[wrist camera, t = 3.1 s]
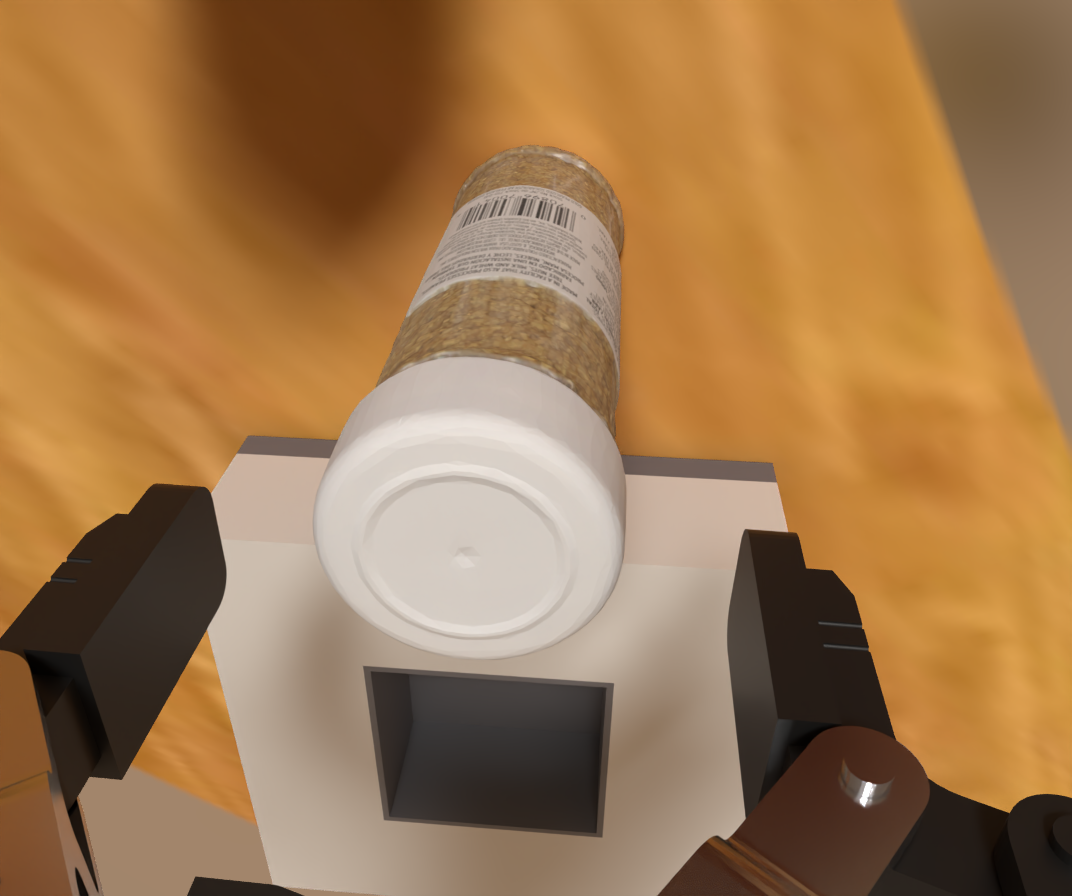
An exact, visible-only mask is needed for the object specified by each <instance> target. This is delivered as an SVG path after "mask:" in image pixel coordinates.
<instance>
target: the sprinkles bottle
mask: <svg viewBox="0 0 1072 896" xmlns="http://www.w3.org/2000/svg"><path fill="white" fill-rule="evenodd" d="M623 241H624V222H623V216H622V210H621V206H620V202H619V200H618V199H617V197H616V196H615V194H614V191H613V189H612V187H611V186H610V184H609V183H608V181H607V180H606V179H605V178H604V177H603V176H602V174H601V173H600V172H599V171H598V170H597V169H596V168H595V167H593V166H592V165H590V164H589V163H588V162H587V161H586V160H584V159H583V158H581V157H579V156H578V155H576V154H574V153H572V152H569V151H565V150H561V149H559V148H555V147H549V146H548V147H541V146H538V145H527V146H521V147H518V148H512V149H508V150H505V151H503V152H500V153H498V154H496V155H494V156H493V157H492V158H490V159H488V160H487V161H486V162H485V163H483V164H482V165H480V166H478V167H477V168H476V169H475V170H474V171H473V172H472V174H471V175H470V176H469V178H468V179H467V180H466V181H465V182H464V184H463V185H462V187H461V189H460V190H459V192H458V194H457V197H456V199H455V203H454V208H453V214H452V217H451V221H450V223H449V225H448V227H447V229H446V231H445V233H444V236H443V238H442V240H441V242H440V244H439V246H438V248H437V250H436V252H435V254H434V256H433V258H432V260H431V262H430V264H429V266H428V268H427V270H426V272H425V274H424V277H423V279H422V281H421V284H420V286H419V288H418V290H417V292H416V294H415V296H414V298H413V300H412V302H411V305H410V307H409V310H408V312H407V315H406V317H405V319H404V321H403V323H402V325H401V328H400V331H399V334H398V336H397V338H396V340H395V342H394V344H393V348H392V351H391V353H390V356H389V357H388V359H387V361H386V364H385V366H384V368H383V371H382V373H381V375H380V378H379V380H378V382H377V385H376V387H375V389H374V390H373V391H372V392H371V393H369V394H368V395H367V396H366V397H365V398H364V399H363V400H361V401H360V403H359V404H358V405H357V407H356V408H355V410H354V411H353V412H352V414H351V415H350V417H349V419H348V421H347V423H346V424H345V426H344V428H343V430H342V433H341V435H340V437H339V439H338V441H337V443H336V445H335V448H334V450H333V452H332V455H331V457H330V460H329V462H328V464H327V467H326V469H325V472H324V474H323V477H322V480H321V482H320V485H319V487H318V490H317V494H316V499H315V503H314V511H313V536H314V541H315V546H316V550H317V554H318V558H319V560H320V563H321V565H322V568H323V570H324V572H325V574H326V575H327V577H328V579H329V581H330V583H331V584H332V586H333V587H334V589H335V590H336V591H337V592H338V594H339V595H340V596H341V597H342V599H343V600H344V601H345V602H346V603H347V604H348V605H349V606H350V607H351V608H352V609H353V610H354V611H355V612H356V613H357V614H358V615H359V616H360V617H362V618H363V619H364V620H365V621H366V622H368V623H369V624H371V625H372V626H374V627H375V628H376V629H378V630H379V631H381V632H382V633H384V634H386V635H388V636H390V637H392V638H394V639H396V640H397V641H399V642H401V643H404V644H406V645H409V646H411V647H413V648H416V649H419V650H423V651H426V652H429V653H433V654H436V655H440V656H445V657H451V658H458V659H469V660H501V659H508V658H515V657H520V656H525V655H529V654H532V653H535V652H538V651H541V650H543V649H546V648H549V647H551V646H553V645H555V644H557V643H559V642H561V641H563V640H565V639H567V638H569V637H570V636H572V635H573V634H575V633H576V632H578V631H579V630H580V629H581V628H583V627H584V626H585V625H587V624H588V623H589V622H590V621H591V620H592V619H593V618H594V617H595V616H596V615H597V614H598V613H599V612H600V611H601V610H602V608H603V607H604V605H605V603H606V601H607V600H608V599H609V597H610V596H611V594H612V592H613V590H614V589H615V586H616V584H617V581H618V579H619V576H620V572H621V568H622V564H623V559H624V551H625V532H626V501H627V498H626V479H625V473H624V468H623V463H622V458H621V455H620V453H619V450H618V446H617V444H616V441H615V436H616V426H615V410H616V406H617V402H618V396H619V379H620V315H621V268H620V262H619V255H620V252H621V250H622V247H623Z"/></svg>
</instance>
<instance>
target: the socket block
mask: <svg viewBox="0 0 1072 896" xmlns="http://www.w3.org/2000/svg"><path fill="white" fill-rule="evenodd" d="M337 441H338V440H321V439H302V438H283V437H264V436H248V437H247V438H246V440H245V441H244V443H243V445H242V446H241V448H240V449H239V451H238V452H237V454H236V456H235V457H234V459H233V460H232V462H231V463H230V465H229V466H228V468H227V470H226V471H225V473H224V474H223V476H222V477H221V479H220V481H219V482H218V484H217V485H216V487H215V488H214V490H213V491H212V493H211V496H212V499H213V503H214V508H215V513H216V518H217V523H218V528H219V533H220V538H221V543H222V548H223V552H224V557H225V562H226V570H227V578H226V587H225V592H224V596H223V600H222V602H221V605H220V607H219V609H218V610H217V612H216V614H215V616H214V618H213V619H212V621H211V623H210V625H209V626H208V628H207V631H208V634H209V638H210V642H211V646H212V650H213V654H214V658H215V662H216V665H217V669H218V673H219V677H220V681H221V685H222V689H223V693H224V696H225V700H226V704H227V708H228V712H229V716H230V720H231V724H232V727H233V731H234V735H235V739H236V743H237V747H238V751H239V755H240V758H241V762H242V766H243V770H244V774H245V778H246V782H247V786H248V789H249V793H250V797H251V801H252V805H253V809H254V813H255V817H256V821H257V824H258V828H259V832H260V836H261V840H262V844H263V848H264V852H265V855H266V859H267V863H268V867H269V871H270V875H271V878H272V883H273V885H278V886H281V887H293V888H304V889H315V890H328V891H338V892H350V893H362V894H373V895H385V896H657V895H658V894H659V893H660V892H661V891H662V889H663V888H664V887H665V886H666V885H667V884H668V883H669V881H670V880H671V879H672V878H673V877H674V876H675V874H676V873H677V872H678V871H679V870H680V869H681V868H682V866H683V865H684V864H685V863H686V862H687V861H688V860H689V858H690V857H691V856H692V855H693V854H694V853H695V852H696V850H697V849H698V848H699V847H700V846H701V845H702V844H703V843H704V842H705V841H707V840H708V839H709V838H711V837H713V836H716V835H718V836H720V837H721V838H723V839H724V840H726V839H728V838H729V837H730V836H731V835H732V834H733V833H734V832H735V831H736V830H737V829H738V827H739V826H740V825H741V824H742V823H743V822H744V820H745V819H746V817H745V808H744V799H743V790H742V780H741V771H740V762H739V753H738V743H737V734H736V725H735V716H734V707H733V697H732V688H731V679H730V670H729V660H728V651H727V623H728V612H729V605H730V600H731V594H732V588H733V583H734V577H735V572H736V566H737V560H738V555H739V549H740V543H741V538H742V535H743V532H744V530H745V529H753V530H766V531H779V532H788V529H787V525H786V520H785V516H784V512H783V507H782V503H781V498H780V494H779V490H778V485H777V481H776V476H775V472H774V467H773V463H759V462H740V461H721V460H702V459H683V458H664V457H645V456H626V455H621V458H622V463H623V468H624V473H625V479H626V498H627V501H626V532H625V551H624V559H623V564H622V568H621V572H620V576H619V579H618V581H617V584H616V586H615V589H614V590H613V592H612V594H611V596H610V597H609V599H608V600H607V601H606V603H605V605H604V607H603V608H602V610H601V611H600V612H599V613H598V614H597V615H596V616H595V617H594V618H593V619H592V620H591V621H590V622H589V623H588V624H587V625H585V626H584V627H583V628H581V629H580V630H579V631H578V632H576V633H575V634H573V635H572V636H570V637H569V638H567V639H565V640H563V641H561V642H559V643H557V644H555V645H553V646H551V647H549V648H546V649H543V650H541V651H538V652H535V653H532V654H529V655H525V656H520V657H515V658H508V659H501V660H469V659H458V658H451V657H445V656H440V655H436V654H433V653H429V652H426V651H423V650H419V649H416V648H413V647H411V646H409V645H406V644H404V643H401V642H399V641H397V640H396V639H394V638H392V637H390V636H388V635H386V634H384V633H382V632H381V631H379V630H378V629H376V628H375V627H374V626H372V625H371V624H369V623H368V622H366V621H365V620H364V619H363V618H362V617H360V616H359V615H358V614H357V613H356V612H355V611H354V610H353V609H352V608H351V607H350V606H349V605H348V604H347V603H346V602H345V601H344V600H343V599H342V597H341V596H340V595H339V594H338V592H337V591H336V590H335V589H334V587H333V586H332V584H331V583H330V581H329V579H328V577H327V575H326V574H325V572H324V570H323V568H322V565H321V563H320V560H319V558H318V554H317V550H316V546H315V541H314V536H313V511H314V503H315V499H316V494H317V490H318V487H319V485H320V482H321V480H322V477H323V474H324V472H325V469H326V467H327V464H328V462H329V460H330V457H331V455H332V452H333V450H334V448H335V445H336V443H337Z"/></svg>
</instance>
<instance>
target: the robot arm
mask: <svg viewBox="0 0 1072 896" xmlns="http://www.w3.org/2000/svg"><path fill="white" fill-rule="evenodd" d="M226 578H227V570H226V562H225V557H224V552H223V548H222V543H221V538H220V533H219V528H218V523H217V518H216V513H215V508H214V503H213V499H212V496H211V493H210V492H209V490H208V489H207V488H205V487H198V486H185V485H172V484H153V485H152V486H151V487H150V488H149V489H148V490H147V491H146V492H145V494H144V495H143V496H142V498H141V499H140V500H139V501H138V503H137V504H136V505H135V506H134V508H133V509H132V510H131V512H130V513H129V514H115V515H114V516H112V517H111V518H109V519H108V520H106V521H105V522H103V523H102V524H100V525H99V526H97V527H96V528H94V529H93V530H91V531H90V532H88V533H86V535H85V536H84V537H83V538H82V540H81V541H80V542H79V543H78V544H77V546H76V547H75V548H74V549H73V550H72V552H71V553H70V554H69V555H68V557H67V561H66V562H63V563H62V564H61V565H60V566H59V567H58V569H57V570H56V571H55V572H54V574H53V575H52V576H51V581H50V582H46V583H45V585H44V586H43V587H42V588H41V589H40V591H39V592H38V593H37V594H36V595H35V597H34V598H33V599H32V600H31V602H30V603H29V604H28V605H27V606H26V608H25V609H24V610H23V611H22V613H21V614H20V615H19V616H18V617H17V619H16V620H15V621H14V622H13V623H12V625H11V626H10V627H9V628H8V630H7V631H6V632H5V633H4V634H3V636H2V637H1V638H0V896H104V895H103V891H102V887H101V882H100V878H99V874H98V870H97V866H96V862H95V857H94V853H93V849H92V845H91V841H90V837H89V833H88V829H87V824H86V821H85V817H84V812H83V808H82V805H81V802H80V800H79V797H78V795H79V793H80V792H81V790H82V788H83V787H84V785H85V783H86V782H87V780H88V778H89V777H98V778H109V779H119V780H122V779H123V777H124V775H125V774H126V772H127V770H128V768H129V766H130V765H131V763H132V761H133V759H134V758H135V756H136V754H137V752H138V751H139V749H140V747H141V745H142V743H143V742H144V740H145V738H146V736H147V735H148V733H149V731H150V729H151V727H152V726H153V724H154V722H155V720H156V719H157V717H158V715H159V713H160V712H161V710H162V708H163V706H164V704H165V703H166V701H167V699H168V697H169V696H170V694H171V692H172V690H173V688H174V687H175V685H176V683H177V681H178V680H179V678H180V676H181V674H182V672H183V671H184V669H185V667H186V665H187V664H188V662H189V660H190V658H191V657H192V655H193V653H194V651H195V649H196V648H197V646H198V644H199V642H200V641H201V639H202V637H203V635H204V633H205V632H206V630H207V628H208V626H209V625H210V623H211V621H212V619H213V618H214V616H215V614H216V612H217V610H218V609H219V607H220V605H221V602H222V600H223V596H224V592H225V587H226ZM868 648H869V646H868V642H867V639H866V635H865V632H864V629H862V621H861V618H860V614H859V611H858V607H857V604H856V600H855V597H854V595H853V594H852V593H851V592H850V590H849V589H848V588H847V587H846V586H845V585H844V583H843V582H842V581H841V580H840V579H839V578H838V576H837V575H836V574H835V573H834V572H833V571H832V570H819V569H806V566H805V562H804V558H803V553H802V549H801V545H800V540H799V537H798V535H797V533H793V532H779V531H766V530H753V529H745V530H744V532H743V535H742V538H741V543H740V549H739V555H738V560H737V566H736V572H735V577H734V583H733V588H732V594H731V600H730V605H729V612H728V623H727V651H728V660H729V670H730V679H731V688H732V697H733V707H734V716H735V725H736V734H737V743H738V753H739V762H740V771H741V780H742V790H743V799H744V808H745V817H746V819H745V820H744V822H743V823H742V824H741V825H740V826H739V827H738V829H737V830H736V831H735V832H734V833H733V834H732V835H731V836H730V837H729V838H728V839H726V840H724V839H723V838H721V837H720V836H718V835H716V836H713V837H711V838H709V839H708V840H707V841H705V842H704V843H703V844H702V845H701V846H700V847H699V848H698V849H697V850H696V852H695V853H694V854H693V855H692V856H691V857H690V858H689V860H688V861H687V862H686V863H685V864H684V865H683V866H682V868H681V869H680V870H679V871H678V872H677V873H676V874H675V876H674V877H673V878H672V879H671V880H670V881H669V883H668V884H667V885H666V886H665V887H664V888H663V889H662V891H661V892H660V893H659V894H658V895H657V896H1072V798H1070V797H1065V796H1061V795H1053V794H1040V795H1034V796H1030V797H1027V798H1025V799H1023V800H1021V801H1019V802H1018V803H1017V804H1016V805H1015V806H1014V807H1013V809H1012V810H1011V812H1010V813H1007V812H1005V811H1002V810H999V809H996V808H993V807H991V806H988V805H985V804H982V803H979V802H977V801H974V800H971V799H968V798H965V797H963V796H960V795H958V794H955V793H953V792H951V791H948V790H947V789H945V788H943V787H941V786H939V785H937V784H936V783H934V782H933V781H931V780H930V779H928V777H927V775H926V773H925V770H924V768H923V767H922V765H921V764H920V762H919V761H918V759H917V758H916V757H915V756H914V755H913V754H912V753H911V752H910V751H909V750H908V749H907V748H906V747H905V746H903V745H902V744H901V743H899V742H898V741H896V738H895V736H894V732H893V729H892V725H891V722H890V718H889V715H888V711H887V708H886V705H885V701H884V698H883V694H882V691H881V687H880V684H879V680H878V677H877V673H876V670H875V666H874V663H873V659H872V656H871V652H869V651H868ZM187 896H303V895H301V894H298V893H296V892H293V891H291V890H288V889H286V888H283V887H281V886H278V885H271V884H261V883H251V882H242V881H233V880H223V879H214V878H204V877H195V879H194V881H193V884H192V886H191V888H190V890H189V893H188V895H187Z"/></svg>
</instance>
